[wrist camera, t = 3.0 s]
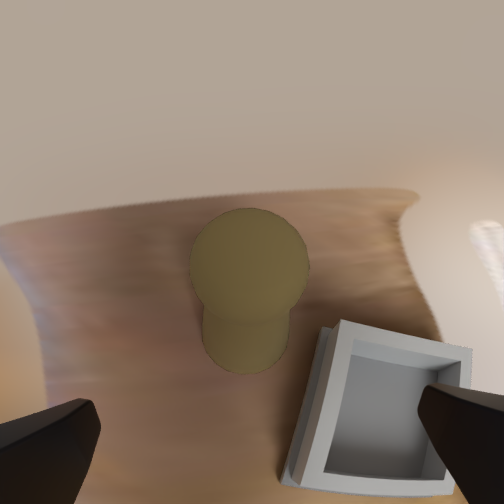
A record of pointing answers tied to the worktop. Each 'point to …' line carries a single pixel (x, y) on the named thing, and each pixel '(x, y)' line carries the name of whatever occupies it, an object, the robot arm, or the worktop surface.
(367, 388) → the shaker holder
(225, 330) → the cork
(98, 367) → the worktop surface
